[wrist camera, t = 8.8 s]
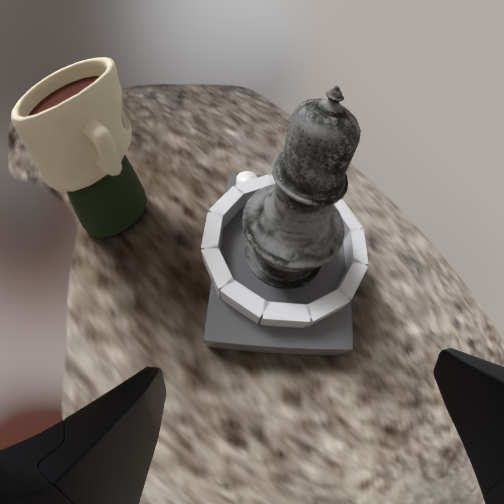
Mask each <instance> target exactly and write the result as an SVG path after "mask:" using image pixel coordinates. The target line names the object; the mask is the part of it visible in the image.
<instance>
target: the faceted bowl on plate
mask: <svg viewBox="0 0 504 504" xmlns="http://www.w3.org/2000/svg"><path fill="white" fill-rule="evenodd" d="M271 184H275V181H274V178H273V175H272V174H271V176H269V175H265V176H263V175H256V174H254V173H253V172H249V171H244V172H241V173H232V172H229V176H228V182H227V187H226V193H225V194H224V195H223V196H222V197H221V198H220V199H219V200H218V201H217V202H216V203H215V204H214V205H213V206H212V207H211V208H210V209H209V212H208V214H207V219H206V224H205V229H204V234H203V239H202V245H201V252H202V257H203V262H204V264H205V266H206V269H207V271H208V273H209V276H210V278H211V280H212V281H211V288H210V295H209V302H208V309H207V317H206V324H205V332H204V342H205V344H206V346H207V347H212V348H220V349H230V350H240V351H251V352H264V353H280V354H301V355H341V354H343V353H345V352H348V351H350V350H352V349H353V329H352V304H351V300H352V298H353V296H354V294H355V292H356V290H357V288H358V286H359V284H360V282H361V280H362V278H363V276H364V274H365V272H366V270H367V268H368V266H367V265H368V258H367V250H366V243H365V236H364V230H363V229H362V228H363V227H362V226H361V224H360V223H359V222H358V220H357V219H356V217H355V216H354V215H353V213H352V212H351V211H350V209H349V208H348V207H347V205H346V204H345V203H344V201H343V200H342V199H340V200H339V201H338V202H337V203H334V205H335V206H336V208H337V209H338V210H339V212H340V215H341V217H342V219H343V222H344V231H345V234H344V239H343V244H342V246H341V248H340V249H339V251H338V253H337V254H336V255H335V256H334V257H333V258H332V259H331V260H330V261H329V262H328V263H326V264H323V265H322V266H321V269H320V271H319V272H318V274H317V275H316V277H315V278H314V279H313V280H311V281H310V282H309V283H307V284H305V285H303V286H301V287H298V288H292V289H283V288H276V287H274V286H271V285H268V284H266V283H265V282H263V281H262V280H260V279H258V278H257V276H256V275H255V274H254V273H253V272H252V271H251V269H250V267H249V265H248V264H247V262H246V257H245V244H246V240H247V238H246V236H245V234H244V230H243V225H242V218H243V210H244V208H245V206H246V204H247V201H248V200H249V199H250V198H251V197H252V195H253V194H254V193H255V192H257V191H258V190H260V189H262V188H263V187H265V186H268V185H271Z"/></svg>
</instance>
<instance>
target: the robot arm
mask: <svg viewBox="0 0 504 504" xmlns="http://www.w3.org/2000/svg"><path fill="white" fill-rule="evenodd" d="M434 377H435V380H436V382H437V385H438V387H439V390H440V392H441V395H442V398H443V400H444V403H445V406H446V408H447V410H448V413H449V415H450V417H451V419H452V421H453V423H454V425H455V427H456V429H457V432H458V434H459V436H460V438H461V441H462V443H463V445H464V447H465V450H466V452H467V455H468V457H469V459H470V462H471V464H472V467H473V469H474V472H475V475H476V477H477V480H478V483H479V485H480V488H481V491H482V494H483V498H484V501H485V504H504V367H502V366H500V365H497V364H494V363H491V362H488V361H486V360H483V359H480V358H477V357H475V356H472V355H469V354H466V353H464V352H461V351H458V350H455V349H453V348H448V349H444V350H442V351H441V352H440V354H439V357H438V359H437V362H436V365H435V368H434ZM165 397H166V387H165V383H164V379H163V374H162V371H161V369H160V368H157V367H146V368H144V369H143V370H141V371H140V372H138V373H137V374H135V375H134V376H132V377H130V378H129V379H127V380H126V381H124V382H123V383H121V384H120V385H118V386H117V387H115V388H113V389H112V390H110V391H109V392H107V393H106V394H104V395H102V396H101V397H99V398H98V399H96V400H94V401H93V402H91V403H90V404H88V405H86V406H85V407H83V408H82V409H80V410H78V411H77V412H75V413H73V414H72V415H70V416H68V417H67V418H65V419H64V420H62V421H60V422H58V423H57V424H55V425H53V426H52V427H50V428H48V429H46V430H44V431H42V432H41V433H39V434H36V435H34V436H32V437H30V438H28V439H26V440H24V441H21V442H19V443H16V444H14V445H12V446H9V447H7V448H5V449H2V450H0V504H139V502H140V498H141V495H142V491H143V488H144V484H145V481H146V477H147V474H148V470H149V467H150V464H151V460H152V457H153V454H154V450H155V447H156V444H157V440H158V436H159V431H160V426H161V420H162V414H163V408H164V403H165Z"/></svg>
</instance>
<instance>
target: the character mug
mask: <svg viewBox="0 0 504 504" xmlns="http://www.w3.org/2000/svg"><path fill="white" fill-rule="evenodd" d="M11 120H12V122H13V125H14V127H15V129H16V131H17V133H18V135H19V136H20V138H21V140H22V142H23V144H24V146H25V148H26V149H27V151H28V153H29V155H30V156H31V158H32V160H33V162H34V163H35V165H36V167H37V168H38V170H39V172H40V173H41V175H42V176H43V178H44V180H45V181H46V182H47V184H48V185H49V186H51V187H52V188H54V189H55V190H57V191H67V194H68V196H69V199H70V201H71V204H72V206H73V209H74V211H75V213H76V215H77V217H78V219H79V221H80V223H81V224H82V226H83V227H84V229H85V230H86V231H87V232H88V234H89V235H91V236H95V237H99V238H105V237H109V236H113V235H117V234H119V233H120V232H122V231H123V230H125V229H127V228H128V227H130V226H132V225H133V224H134V223H135V222H136V221H137V220H138V219H139V218H140V217H141V216H142V215H143V212H144V209H145V205H146V202H147V200H146V196H145V191H144V189H143V187H142V185H141V183H140V181H139V179H138V177H137V175H136V173H135V171H134V169H133V168H132V166H131V164H130V163H129V161H128V159H127V157H126V156H125V153H126V151H127V149H128V147H129V145H130V143H131V137H132V129H131V125H130V123H129V121H128V119H127V116H126V114H125V112H124V109H123V106H122V89H121V86H120V83H119V80H118V75H117V70H116V66H115V63H114V61H113V60H112V59H110V58H106V57H101V58H92V59H88V60H84V61H80V62H77V63H75V64H72V65H69V66H67V67H64V68H62V69H60V70H58V71H56V72H55V73H53V74H51V75H49V76H47V77H46V78H44V79H43V80H41V81H40V82H39V83H37V84H36V85H35V86H33V87H32V88H31V89H30V90H29V91H28V92H27V93H26V94H25V95H24V96H22V98H21V99H20V100H19V101H18V102H17V104H16V105H15V107H14V108H13V110H12V115H11Z"/></svg>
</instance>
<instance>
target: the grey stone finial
mask: <svg viewBox="0 0 504 504" xmlns="http://www.w3.org/2000/svg"><path fill="white" fill-rule="evenodd" d="M326 96H327V97H328V99H311V100H307V101H304V102H303V103H301V104H299V105H298V106H297V107H296V108H295V109H294V111H293V113H292V115H291V117H290V122H289V127H288V132H287V137H286V142H285V147H284V151H283V152H281V153H280V154H279V155H278V156H277V157H276V158H275V159H274V162H273V164H272V175H273V178H274V181H275V184H271V185H268V186H265V187H263V188H262V189H260V190H258V191H257V192H255V193H254V194H253V195H252V197H251V198H250V199H249V200H248V201H247V204H246V206H245V208H244V210H243V218H242V225H243V230H244V234H245V236H246V238H247V240H246V244H245V257H246V262H247V264H248V265H249V267H250V269H251V271H252V272H253V273H254V274H255V275H256V276H257V278H258V279H260V280H262V281H263V282H265V283H266V284H268V285H271V286H274V287H276V288H283V289H292V288H298V287H301V286H303V285H305V284H307V283H309V282H310V281H311V280H313V279H314V278H315V277H316V275H317V274H318V272H319V271H320V269H321V266H322V265H323V264H326V263H328V262H329V261H330V260H331V259H332V258H333V257H334V256H335V255H336V254H337V253H338V251H339V249H340V248H341V246H342V244H343V239H344V234H345V231H344V222H343V219H342V217H341V215H340V212H339V210H338V209H337V208H336V206H335V205H334V203H337V202H338V201H339V200H340V199H342V198H343V196H344V195H345V193H346V191H347V188H348V180H347V175H346V174H345V173H346V171H347V169H348V166H349V164H350V162H351V159H352V157H353V155H354V152H355V150H356V148H357V146H358V143H359V140H360V131H361V130H360V127H359V124H358V122H357V119H356V118H355V117H354V115H353V114H352V113H351V112H350V111H349V110H347V109H346V108H345V107H344V106H342V105H341V104H340V103H339V101H343V100H344V97H343V96H342V92H341V91H340V88H339V87H338V86H335V87H334V88H332V89H330V91H327V92H326Z"/></svg>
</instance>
